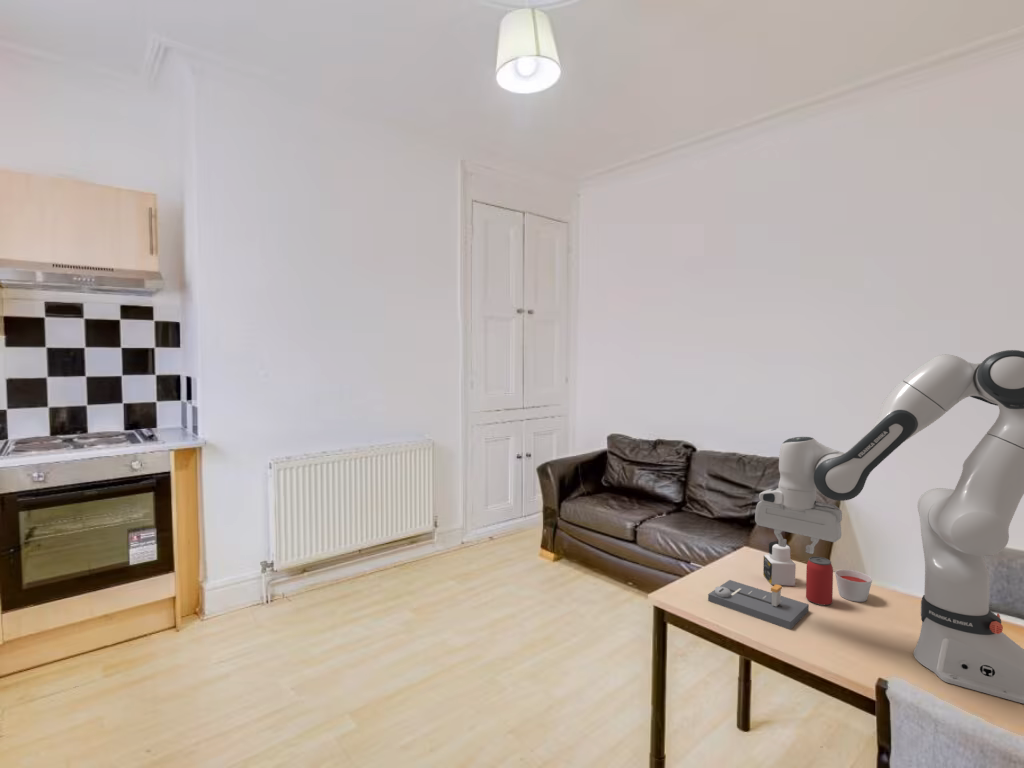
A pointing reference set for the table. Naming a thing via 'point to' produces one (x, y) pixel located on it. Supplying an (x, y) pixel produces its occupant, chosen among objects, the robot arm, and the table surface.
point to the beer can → (819, 581)
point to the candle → (853, 585)
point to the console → (758, 604)
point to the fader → (776, 594)
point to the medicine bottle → (779, 565)
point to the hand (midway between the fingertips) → (795, 549)
